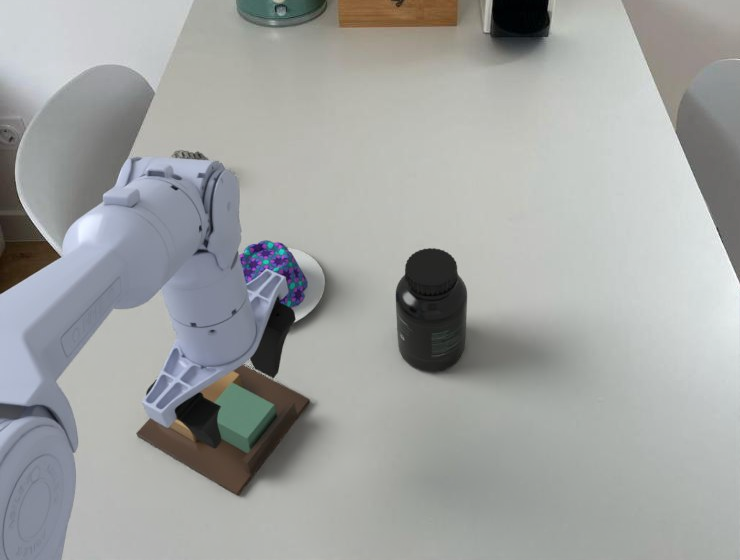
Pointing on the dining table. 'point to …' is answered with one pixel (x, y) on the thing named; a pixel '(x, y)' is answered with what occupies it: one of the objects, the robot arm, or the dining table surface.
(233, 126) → the dining table surface
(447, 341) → the supplement bottle
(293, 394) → the dock
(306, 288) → the pudding
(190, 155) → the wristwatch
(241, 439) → the green block
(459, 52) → the dining table surface
